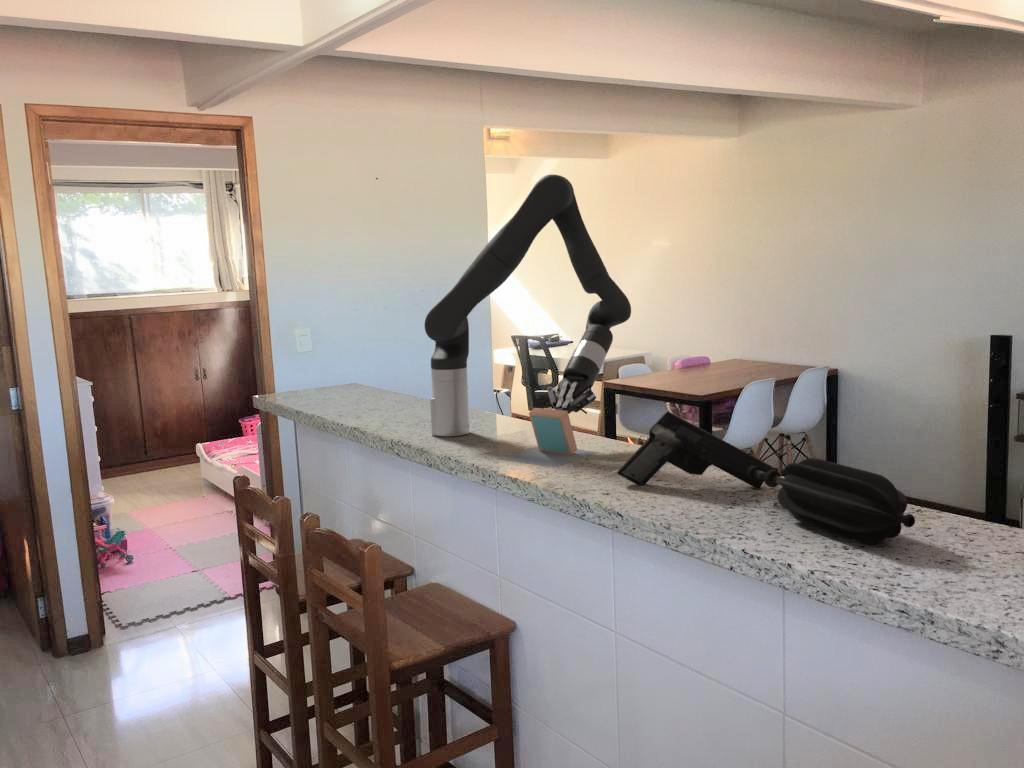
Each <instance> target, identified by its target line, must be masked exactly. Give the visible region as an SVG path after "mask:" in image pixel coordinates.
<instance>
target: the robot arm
mask: <svg viewBox="0 0 1024 768" xmlns="http://www.w3.org/2000/svg"><path fill="white" fill-rule="evenodd" d="M574 190H575V189H574V187H573V184H572V183H571V182H570V181H569V179H568V178H566V177H564V176H563V175H559V174H547V175H544V176H542V177H541V178H539V179H538V180H537V181H536V183H535V184H534V185H533V187H532V189H531V190H530V192H529V194H528V195H527V196H526V197H525V199H524V201H523V202H522V204H521V205H520V207H518V210H517V211H516V212H515V213H514V215H513V216H512V217H511V218H510V219H509V220H508V221H507V222H506V223H505V224H504V225H503V226H502V227H501V228H500V230H498V231H497V233H496V234H495V235H494V236H493V237H492V238H491V239H490V240H489V242H487V243H486V245H485V246H484V248H483V249H482V250H481V251H480V252H479V253H478V255H477V256H476V258H475V259H474V260H473V261H472V262H471V264H470V265H469V266H468V268H467V269H466V270H465V271H464V272H463V274H462V276H461V277H460V278H459V280H458V281H457V282H456V283H455V285H454V286H453V287H452V289H450V291H449V292H448V293H447V294H446V295H445V296H443V298H441V300H440V301H438V302H437V304H435V305H434V306H433V307H432V308H431V309H430V311H429V312H428V313H427V315H426V317H425V320H424V331H425V334H426V335H427V337H428V338H429V339H430V340H431V341H434V342H435V344H434V345H435V346H434V347H435V348H434V350H433V351H434V352H433V354H432V356H431V358H430V371H431V375H430V376H431V391H432V392H431V395H432V397H431V398H430V401H429V402H430V403H429V404H430V423H431V425H430V426H431V435H432V436H438V437H458V436H465V435H467V434H469V433H470V411H469V392H468V391H469V390H468V389H469V385H468V357H469V354H470V329H469V328H470V325H469V319H468V316H469V315H470V314H471V312H472V311H473V309H474V308H476V306H477V305H478V304H480V302H482V301H483V300H485V299H486V298H487V297H488V296H490V295H492V293H494V292H495V291H496V290H497V289H498V288H499V287H501V286H502V284H504V283H505V282H506V281H507V280H508V278H509V277H510V276H511V275H512V273H514V271H515V270H516V269H517V268H518V266H519V265H520V264H521V262H522V261H523V259H524V258H525V256H526V255H527V253H528V251H529V249H530V247H531V246H532V244H533V242H534V240H535V239H536V237H537V236H538V235H539V233H541V231H542V230H543V229H544V228H545V227H546V226H547V225H548V224H549V223H550V222H551V221H553V222H554V224H555V225H556V227H557V229H558V230H559V233H560V235H561V237H562V239H563V242H564V245H565V247H566V251H567V255H568V257H569V260H570V263H571V266H572V267H573V271H574V272H575V275H576V276H577V278H578V281H579V282H580V285H581V286H582V289H583V291H584V292H585V293H586V294H589V295H592V294H594V295H597V296H598V297H599V298H600V300H599V301H597V302H596V303H594V304H593V305H592V307H591V308H590V309H589V312H588V315H587V319H586V325H585V331H584V333H583V335H582V337H581V338H580V341H579V342H578V344H577V346H576V348H574V350H573V352H572V355H571V356H570V359H569V360H568V362H567V364H566V366H565V369H564V371H563V375H562V379H560V381H559V382H557V383H558V384H557V385H556V386H554V387H552V386H548V387H547V388H546V390H547V394H548V398H549V401H550V404H551V406H552V407H553V409H554V410H564V411H568V415H570V414H572V413H573V412H574V413H578V412H580V411H581V410H582V409H584V408H585V407H586V406H588V405H589V404H590V403H592V402H594V401H595V400H596V398H597V396H596V395H595V393H594V391H593V390H592V387H593V386H594V385H595V382H596V380H597V378H598V376H599V374H600V371H601V369H602V367H603V365H604V363H605V359H606V357H607V354H608V352H609V350H610V348H611V346H612V343H613V339H614V336H613V335H614V334H613V333H612V331H611V328H613V327H616V326H619V325H621V324H624V323H625V322H627V321H628V320H629V319H630V318H631V316H632V315H631V314H632V305H631V303H630V300H629V298H628V297H627V295H626V294H625V293H624V292H623V290H622V289H621V288H620V286H619V285H618V284H617V283H616V281H614V280H613V279H612V277H611V276H610V274H609V272H608V270H607V268H606V266H605V263H604V261H603V260H602V258H601V255H600V254H599V252H598V249H597V248H596V246H595V243H594V242H593V239H592V238H591V235H590V234H589V232H588V230H587V227H586V224H585V222H584V220H583V218H582V214H581V212H580V209H579V206H578V202H577V198H576V195H575V191H574Z"/></svg>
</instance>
